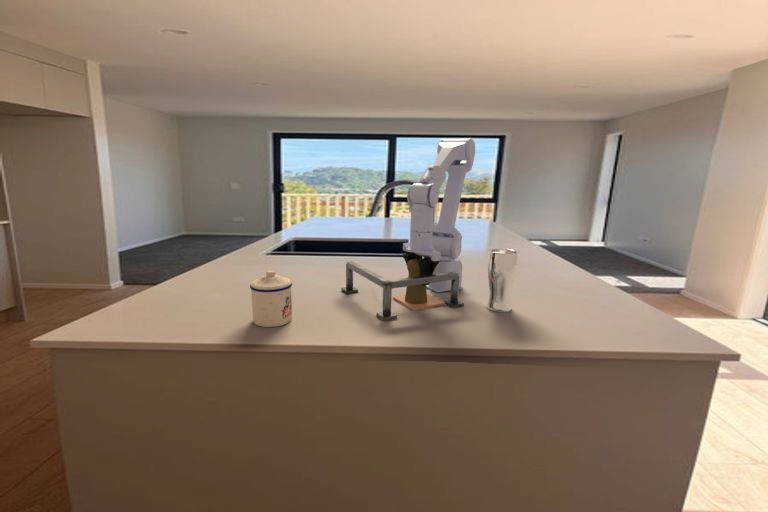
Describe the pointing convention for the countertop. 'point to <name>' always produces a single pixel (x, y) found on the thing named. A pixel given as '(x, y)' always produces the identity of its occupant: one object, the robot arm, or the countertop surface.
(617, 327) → the countertop surface
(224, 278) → the countertop surface
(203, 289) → the countertop surface
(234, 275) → the countertop surface
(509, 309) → the beer glass
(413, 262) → the cork
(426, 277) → the bent rail
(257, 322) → the teacup with lid
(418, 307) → the mat
